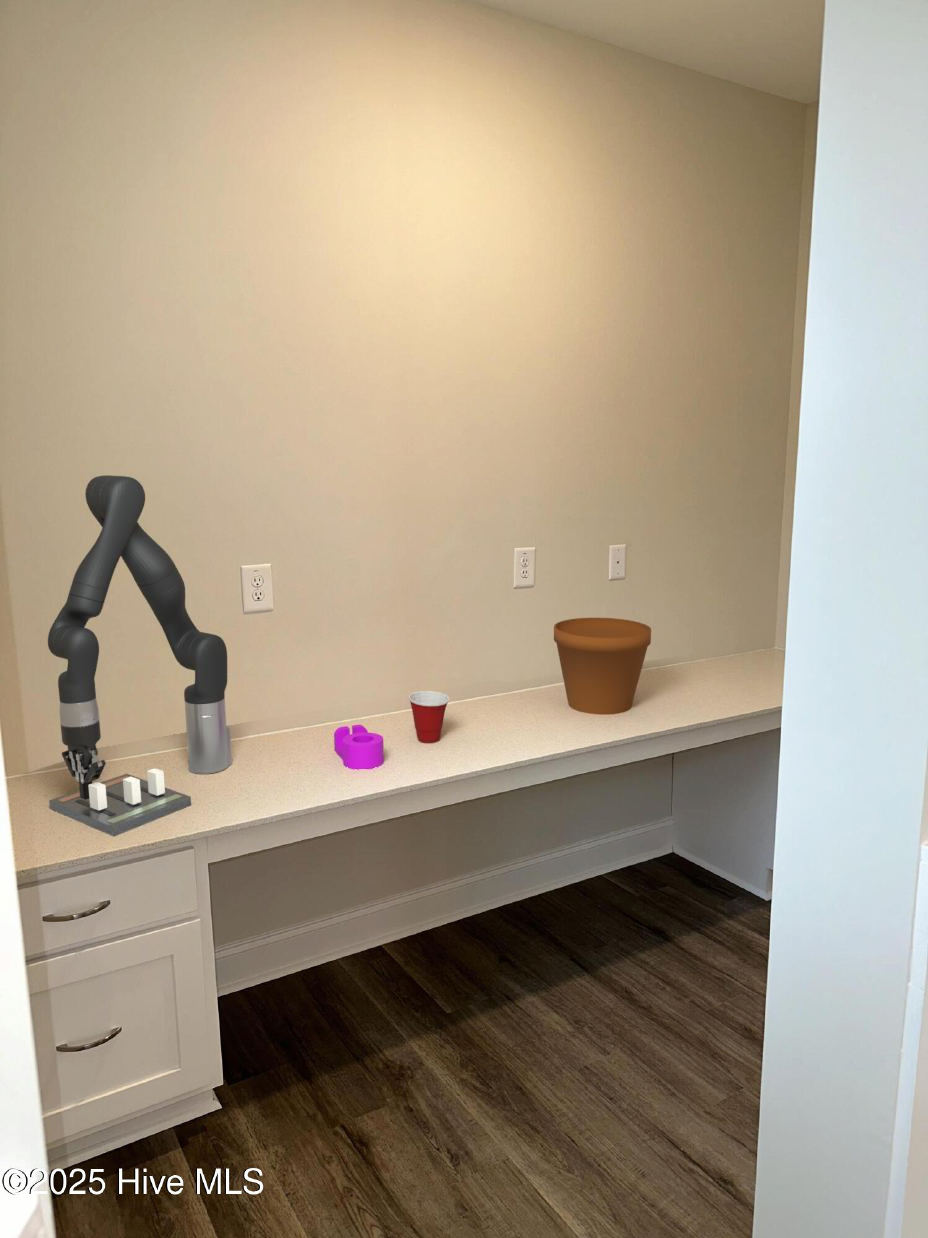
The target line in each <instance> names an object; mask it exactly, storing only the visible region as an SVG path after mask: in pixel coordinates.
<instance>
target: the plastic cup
mask: <svg viewBox="0 0 928 1238" xmlns="http://www.w3.org/2000/svg"><path fill="white" fill-rule="evenodd" d="M408 701H409V702H410V706H411V707H410V708H411V710H412V711H411V712H412V716H413V717H412V718H413V722H414V724H413V725H414V728H415V733H416V738H417V740H418V741H419V743H424V744H434V743H437V742H439V741H440V738H441V734H442V728H443V724H444V723H443V722H444V719H445V713H446V708H447V705H448V703H449V702H450V696H449V695H448V694H446V693H444V692H440V691H437V690H436V691H435V690H418V691H413V692H411V693H410V694H409V695H408Z"/></svg>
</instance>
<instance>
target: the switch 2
mask: <svg viewBox="0 0 928 1238" xmlns="http://www.w3.org/2000/svg"><path fill="white" fill-rule="evenodd" d="M146 773H147V774H146V776H147V781H148V791H149V793H151V794H154V795H157V796H158V795H160V794H163V793H165V788H166V787H165V776H164V775H165V774H164V770H161V769H158V768H152V769H149V770H147V771H146Z"/></svg>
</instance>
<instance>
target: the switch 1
mask: <svg viewBox="0 0 928 1238" xmlns="http://www.w3.org/2000/svg"><path fill="white" fill-rule="evenodd" d="M88 787H89V798H90V807H91V808H93V809H96V810H98V811H99V810H102V809H105V808H107V798H106V786H105V785H104V784H101V782H99V781H96V782H92V784H89V785H88Z"/></svg>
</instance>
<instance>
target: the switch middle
mask: <svg viewBox="0 0 928 1238" xmlns="http://www.w3.org/2000/svg"><path fill="white" fill-rule="evenodd" d="M123 789H124V801H125V802H127V803H130V804H132V805H134V804H137V803H139V802H141V792H140V780H139V779H136V778H134V777H128V778H125V779H123Z"/></svg>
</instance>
